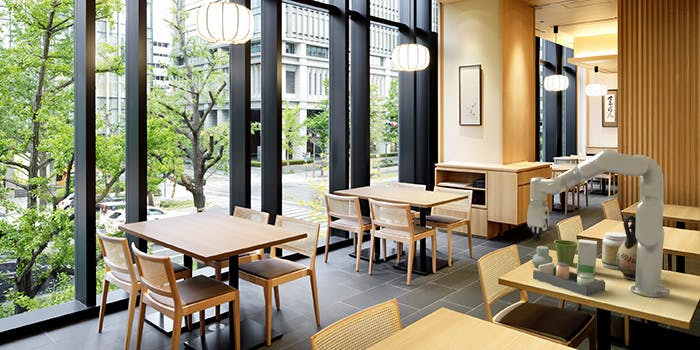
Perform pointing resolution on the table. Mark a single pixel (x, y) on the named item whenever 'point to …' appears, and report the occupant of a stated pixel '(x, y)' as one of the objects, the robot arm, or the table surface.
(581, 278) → the sage ceramic jar
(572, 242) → the plant pot
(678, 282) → the table surface
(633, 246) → the ceramic jug
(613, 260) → the supplement tub
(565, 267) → the terracotta jar
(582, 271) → the skincare box
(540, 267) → the pusher plate
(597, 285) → the grey tray
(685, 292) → the table surface
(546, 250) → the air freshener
